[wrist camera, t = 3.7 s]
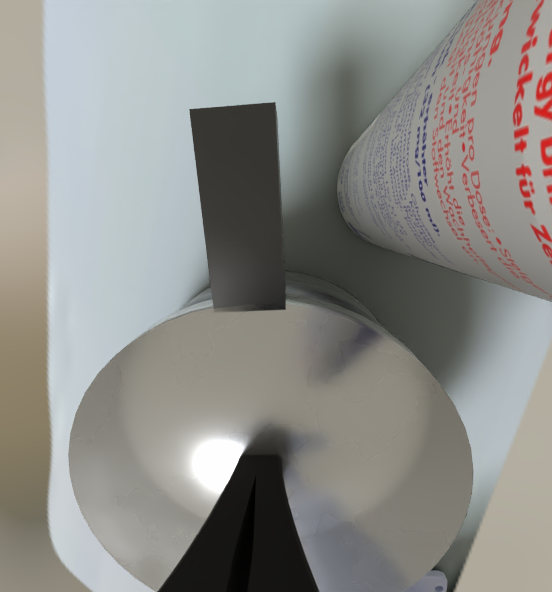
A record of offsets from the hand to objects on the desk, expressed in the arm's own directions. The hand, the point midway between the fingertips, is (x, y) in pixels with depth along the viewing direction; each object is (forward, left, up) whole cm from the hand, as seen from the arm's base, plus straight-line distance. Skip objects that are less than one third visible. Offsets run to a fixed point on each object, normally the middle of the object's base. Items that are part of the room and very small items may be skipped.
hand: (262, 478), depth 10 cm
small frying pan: (+1, 0, -1) cm, 2 cm away
